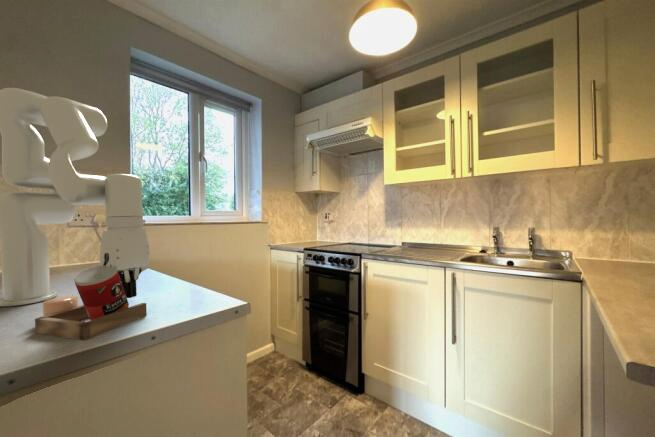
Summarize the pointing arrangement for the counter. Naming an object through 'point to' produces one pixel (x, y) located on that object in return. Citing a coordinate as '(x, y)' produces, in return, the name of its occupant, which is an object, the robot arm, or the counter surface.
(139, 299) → the counter surface
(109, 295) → the canned food
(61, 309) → the peach egg shape
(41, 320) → the wooden u-shaped frame
